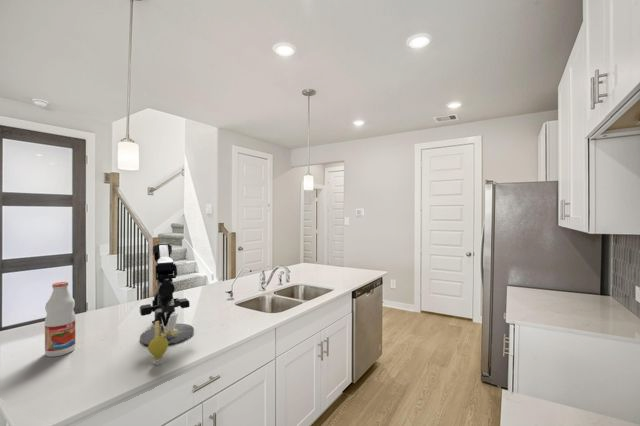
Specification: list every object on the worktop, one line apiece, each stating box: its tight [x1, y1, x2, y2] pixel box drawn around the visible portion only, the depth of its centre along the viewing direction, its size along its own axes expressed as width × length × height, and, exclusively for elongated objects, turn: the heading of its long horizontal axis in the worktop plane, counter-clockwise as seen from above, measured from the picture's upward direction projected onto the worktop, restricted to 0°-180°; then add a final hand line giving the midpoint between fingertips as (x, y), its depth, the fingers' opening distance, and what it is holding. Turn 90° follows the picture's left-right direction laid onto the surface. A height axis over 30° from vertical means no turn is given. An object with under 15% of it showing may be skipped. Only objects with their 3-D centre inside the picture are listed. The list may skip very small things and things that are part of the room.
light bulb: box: [147, 336, 169, 366], centre depth 113 cm, size 7×7×10 cm
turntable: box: [139, 321, 195, 346], centre depth 138 cm, size 22×22×10 cm
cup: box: [161, 311, 178, 333], centre depth 138 cm, size 7×10×8 cm
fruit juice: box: [44, 281, 76, 358], centre depth 122 cm, size 9×9×28 cm
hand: (165, 326), depth 130 cm, fingers closed
